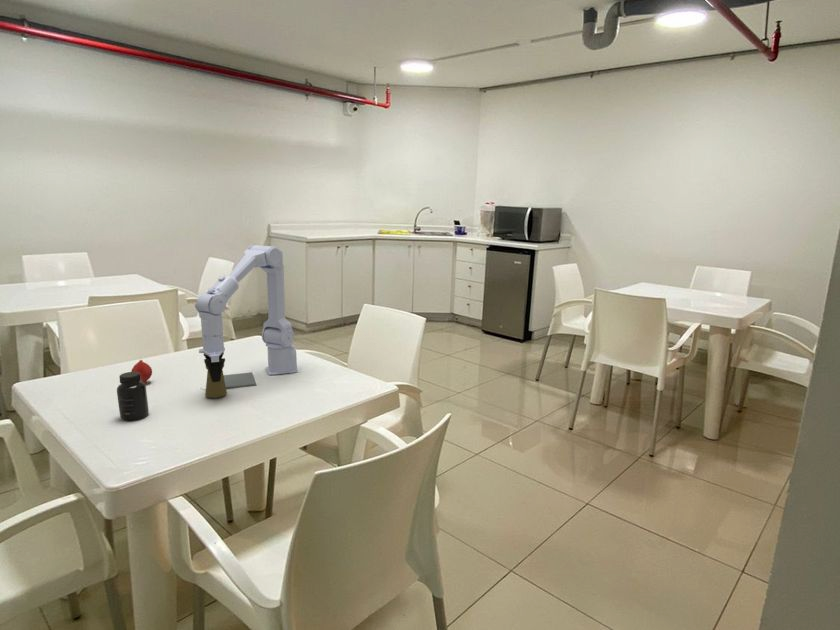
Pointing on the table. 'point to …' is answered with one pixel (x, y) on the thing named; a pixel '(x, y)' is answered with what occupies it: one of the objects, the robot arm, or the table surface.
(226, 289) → the robot arm
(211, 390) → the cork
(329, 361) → the table surface
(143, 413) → the supplement bottle
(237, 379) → the placemat
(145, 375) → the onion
